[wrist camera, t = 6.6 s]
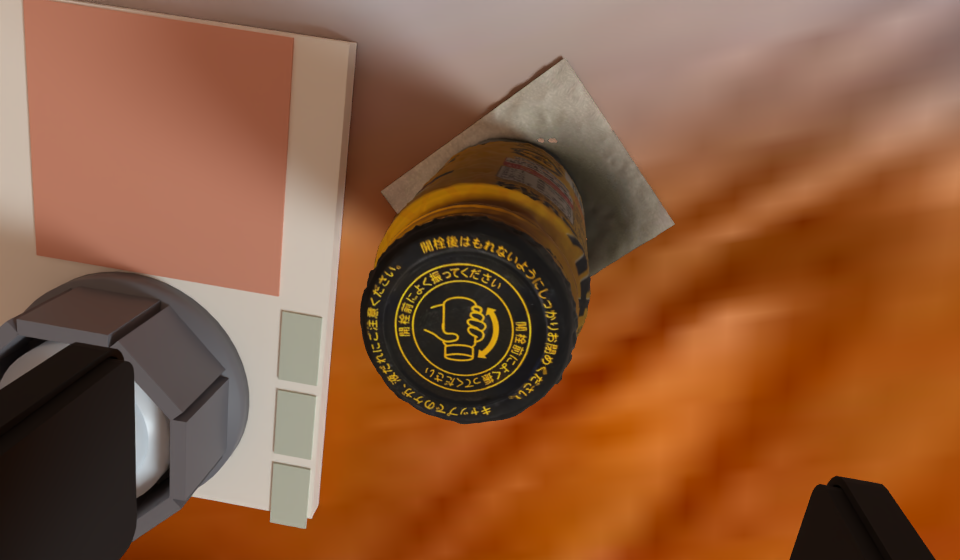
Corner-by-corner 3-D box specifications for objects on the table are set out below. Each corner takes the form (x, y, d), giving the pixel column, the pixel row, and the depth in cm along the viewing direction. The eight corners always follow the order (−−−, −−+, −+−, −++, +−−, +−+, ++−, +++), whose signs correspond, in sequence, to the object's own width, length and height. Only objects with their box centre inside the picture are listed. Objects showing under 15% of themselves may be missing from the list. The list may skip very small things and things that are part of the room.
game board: (317, 514, 34) (272, 603, 29) (22, 458, 35) (-75, 535, 30) (356, 42, 28) (307, 45, 22) (-9, -13, 28) (-140, -23, 23)
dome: (198, 482, 32) (132, 565, 27) (44, 453, 32) (-50, 529, 27) (202, 334, 30) (130, 394, 25) (36, 305, 30) (-67, 359, 25)
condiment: (381, 190, 29) (265, 291, 18) (564, 57, 27) (564, 77, 16) (491, 337, 31) (447, 516, 19) (673, 221, 28) (745, 348, 17)
